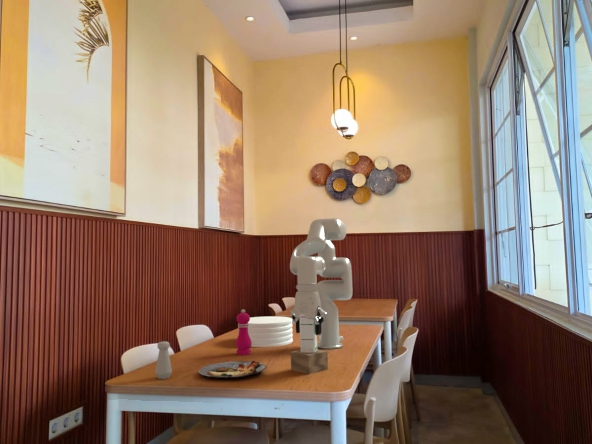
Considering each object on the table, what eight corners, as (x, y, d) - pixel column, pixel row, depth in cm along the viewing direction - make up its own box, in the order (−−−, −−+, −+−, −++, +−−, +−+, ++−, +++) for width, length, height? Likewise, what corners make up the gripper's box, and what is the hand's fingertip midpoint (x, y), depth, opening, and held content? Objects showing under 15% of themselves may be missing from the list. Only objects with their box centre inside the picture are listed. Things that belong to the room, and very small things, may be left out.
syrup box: (315, 353, 175) (314, 314, 176) (299, 352, 176) (299, 314, 177) (317, 350, 180) (316, 312, 181) (302, 349, 182) (302, 312, 183)
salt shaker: (157, 376, 173) (157, 340, 174) (172, 375, 173) (172, 340, 174) (153, 380, 167) (153, 343, 168) (170, 379, 167) (169, 343, 168)
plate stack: (292, 336, 254) (291, 315, 255) (293, 346, 226) (293, 322, 227) (241, 338, 253) (240, 317, 254) (236, 348, 225) (235, 324, 226)
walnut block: (309, 365, 184) (309, 348, 185) (327, 369, 177) (327, 351, 178) (291, 370, 178) (290, 351, 178) (309, 374, 170) (308, 355, 171)
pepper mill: (254, 352, 212) (253, 308, 214) (247, 355, 206) (246, 310, 207) (240, 351, 215) (239, 308, 216) (233, 355, 208) (232, 310, 209)
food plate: (273, 366, 183) (273, 357, 183) (255, 383, 160) (255, 372, 161) (214, 366, 189) (214, 357, 189) (189, 382, 166) (188, 372, 166)
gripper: (284, 288, 182) (285, 333, 181) (320, 289, 172) (321, 337, 170) (295, 287, 188) (296, 330, 187) (331, 288, 178) (332, 334, 176)
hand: (308, 333), depth 179 cm, fingers open, 8 cm apart
